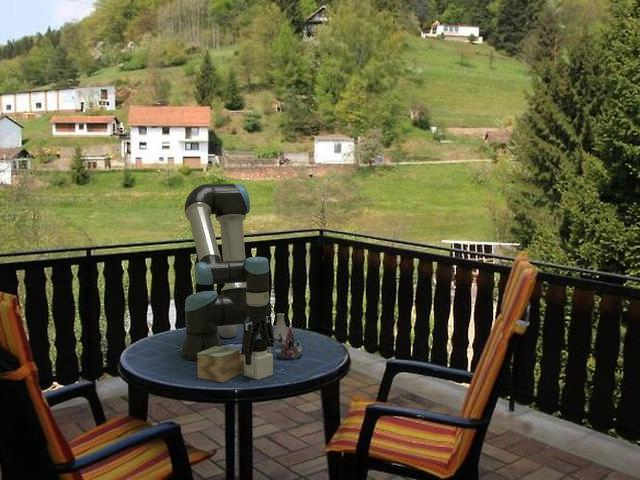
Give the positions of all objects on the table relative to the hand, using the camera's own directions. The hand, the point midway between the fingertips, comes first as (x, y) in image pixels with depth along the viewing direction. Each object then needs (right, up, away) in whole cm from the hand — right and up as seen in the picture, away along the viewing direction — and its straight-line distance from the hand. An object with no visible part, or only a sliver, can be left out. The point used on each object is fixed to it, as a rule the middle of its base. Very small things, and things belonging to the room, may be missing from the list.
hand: (258, 369), depth 214 cm
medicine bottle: (0, -2, 0) cm, 2 cm away
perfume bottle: (-18, +3, +50) cm, 53 cm away
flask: (+5, +3, +48) cm, 49 cm away
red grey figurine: (+9, 0, +22) cm, 23 cm away
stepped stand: (-11, -1, +3) cm, 11 cm away
